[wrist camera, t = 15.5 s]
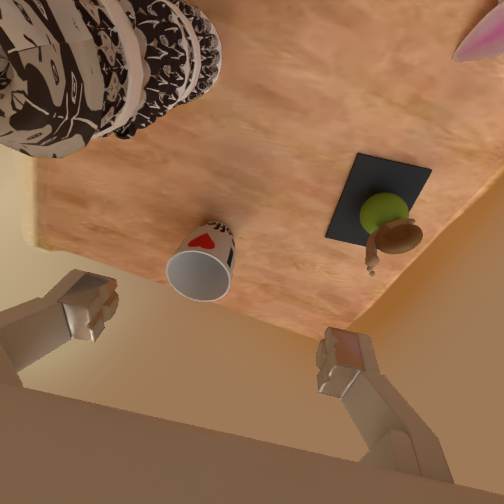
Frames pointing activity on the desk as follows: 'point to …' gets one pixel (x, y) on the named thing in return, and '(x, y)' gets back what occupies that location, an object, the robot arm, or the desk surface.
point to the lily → (484, 38)
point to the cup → (203, 263)
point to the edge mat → (373, 193)
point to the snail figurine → (387, 227)
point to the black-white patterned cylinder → (98, 68)
